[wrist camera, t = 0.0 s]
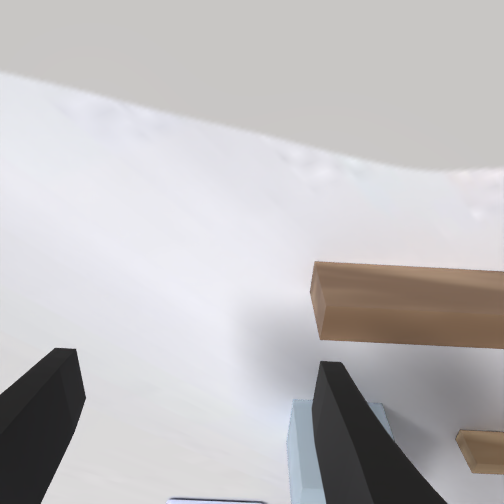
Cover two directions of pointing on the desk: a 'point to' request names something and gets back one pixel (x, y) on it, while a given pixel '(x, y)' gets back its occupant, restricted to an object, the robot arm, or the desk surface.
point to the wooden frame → (416, 320)
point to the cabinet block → (310, 453)
